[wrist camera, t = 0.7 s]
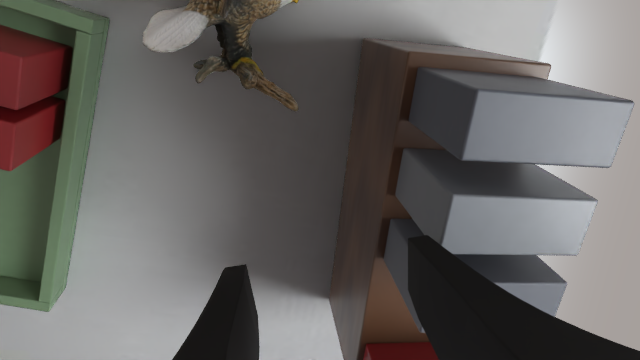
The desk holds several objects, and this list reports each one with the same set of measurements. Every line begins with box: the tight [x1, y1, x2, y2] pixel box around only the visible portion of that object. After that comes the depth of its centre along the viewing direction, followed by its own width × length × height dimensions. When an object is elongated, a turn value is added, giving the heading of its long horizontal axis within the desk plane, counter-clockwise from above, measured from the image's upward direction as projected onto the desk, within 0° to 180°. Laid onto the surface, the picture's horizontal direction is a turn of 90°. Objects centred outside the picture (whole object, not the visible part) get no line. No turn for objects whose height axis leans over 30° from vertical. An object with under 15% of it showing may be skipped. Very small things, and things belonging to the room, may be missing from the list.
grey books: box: [384, 67, 634, 333], centre depth 15 cm, size 8×5×4 cm, turn 174°
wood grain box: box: [329, 38, 551, 360], centre depth 21 cm, size 16×6×7 cm, turn 174°
